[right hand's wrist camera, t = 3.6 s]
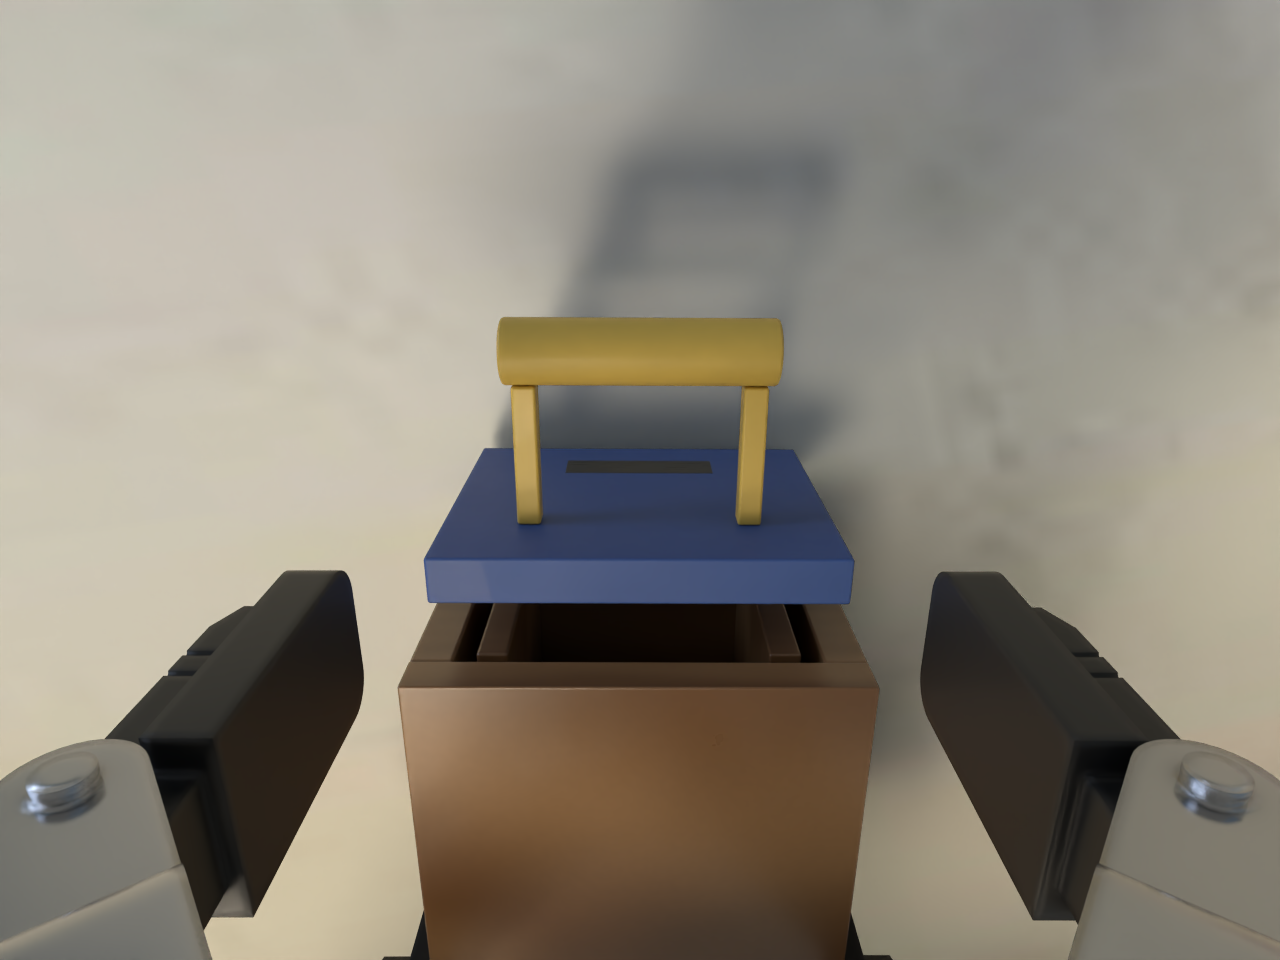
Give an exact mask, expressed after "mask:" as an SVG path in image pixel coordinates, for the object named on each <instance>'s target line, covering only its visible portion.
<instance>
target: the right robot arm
mask: <svg viewBox="0 0 1280 960" xmlns="http://www.w3.org/2000/svg"><path fill="white" fill-rule="evenodd" d="M920 683H921V695H922V701H923V706H924V709H925V712H926V715H927V717H928V720H929V722H930V723H931V725H932V727H933V729H934V731H935V733H936V735H937V737H938V739H939V741H940V743H941V745H942V747H943V748H944V750H945V752H946V754H947V756H948V758H949V760H950V762H951V764H952V766H953V768H954V770H955V771H956V773H957V775H958V777H959V779H960V781H961V783H962V785H963V787H964V789H965V791H966V793H967V795H968V796H969V798H970V800H971V802H972V804H973V806H974V808H975V810H976V812H977V814H978V816H979V818H980V819H981V821H982V823H983V825H984V827H985V829H986V831H987V833H988V835H989V837H990V839H991V841H992V843H993V844H994V846H995V848H996V850H997V852H998V854H999V856H1000V858H1001V860H1002V862H1003V864H1004V866H1005V867H1006V869H1007V871H1008V873H1009V875H1010V877H1011V879H1012V881H1013V883H1014V885H1015V887H1016V889H1017V891H1018V892H1019V894H1020V896H1021V898H1022V900H1023V902H1024V904H1025V906H1026V908H1027V910H1028V912H1029V914H1030V915H1031V917H1032V919H1033V920H1076V922H1077V924H1078V927H1077V931H1076V934H1075V937H1074V941H1073V944H1072V947H1071V951H1070V954H1069V957H1068V960H1280V781H1279V780H1278V779H1277V778H1276V777H1274V776H1273V775H1272V774H1270V773H1269V772H1267V771H1266V770H1264V769H1263V768H1261V767H1259V766H1258V765H1256V764H1254V763H1252V762H1250V761H1249V760H1247V759H1245V758H1242V757H1240V756H1238V755H1236V754H1234V753H1231V752H1229V751H1226V750H1223V749H1221V748H1218V747H1214V746H1211V745H1207V744H1204V743H1199V742H1194V741H1188V740H1181V739H1180V738H1179V737H1178V736H1177V735H1176V734H1175V733H1174V732H1173V731H1172V730H1171V729H1170V728H1169V726H1168V725H1167V724H1166V723H1165V722H1164V721H1163V720H1162V719H1161V718H1160V717H1159V716H1158V715H1157V714H1156V713H1155V712H1154V711H1153V709H1152V708H1151V707H1150V706H1149V705H1148V704H1147V703H1146V702H1145V701H1144V700H1143V699H1142V698H1141V697H1140V696H1139V695H1138V694H1137V692H1136V691H1135V690H1134V689H1133V688H1132V687H1131V686H1130V685H1129V684H1128V683H1127V682H1126V681H1125V680H1124V679H1123V678H1118V672H1117V671H1116V670H1115V669H1114V668H1113V667H1112V666H1111V665H1110V664H1109V663H1108V662H1107V661H1106V660H1105V659H1104V657H1099V652H1098V651H1097V650H1096V649H1095V648H1094V647H1093V646H1092V645H1091V644H1090V643H1089V642H1088V640H1087V639H1086V638H1085V637H1084V636H1083V635H1082V634H1081V633H1080V632H1079V631H1078V630H1077V629H1076V628H1075V627H1073V626H1071V625H1070V624H1068V623H1066V622H1064V621H1063V620H1061V619H1059V618H1058V617H1056V616H1054V615H1053V614H1051V613H1049V612H1047V611H1046V610H1044V609H1042V608H1031V607H1030V605H1029V604H1028V603H1027V602H1026V601H1025V600H1024V599H1023V598H1022V596H1021V595H1020V594H1019V593H1018V592H1017V591H1016V590H1015V588H1014V587H1013V586H1012V585H1011V584H1010V583H1009V582H1008V581H1007V579H1006V578H1005V577H1004V576H1003V575H1002V574H1001V573H999V572H941V573H939V574H938V576H937V577H936V579H935V582H934V585H933V590H932V596H931V603H930V610H929V617H928V624H927V631H926V638H925V645H924V652H923V659H922V666H921V677H920ZM363 686H364V671H363V662H362V655H361V648H360V641H359V634H358V627H357V620H356V613H355V606H354V599H353V592H352V586H351V582H350V579H349V577H348V575H347V574H346V573H345V572H344V571H286V572H284V573H283V574H282V575H281V576H280V577H279V578H278V579H277V580H276V581H275V583H274V584H273V585H272V586H271V587H270V588H269V589H268V591H267V592H266V593H265V594H264V595H263V596H262V597H261V599H260V600H259V601H258V602H257V603H256V604H255V605H254V606H244V607H242V608H240V609H239V610H237V611H235V612H234V613H232V614H230V615H228V616H227V617H225V618H223V619H222V620H220V621H218V622H217V623H215V624H213V625H211V626H210V627H209V628H208V629H207V630H206V631H205V632H204V633H203V634H202V635H201V636H200V637H199V638H198V639H197V641H196V642H195V643H194V644H193V645H192V646H191V647H190V648H189V649H188V650H187V655H186V656H182V657H181V658H180V659H179V660H178V661H177V662H176V663H175V664H174V665H173V666H172V667H171V668H170V669H169V671H168V676H163V677H162V678H161V679H160V680H159V681H158V682H157V683H156V684H155V685H154V687H153V688H152V689H151V690H150V691H149V692H148V693H147V694H146V695H145V696H144V697H143V698H142V699H141V700H140V702H139V703H138V704H137V705H136V706H135V707H134V708H133V709H132V710H131V711H130V712H129V713H128V714H127V715H126V717H125V718H124V719H123V720H122V721H121V722H120V723H119V724H118V725H117V726H116V727H115V728H114V729H113V730H112V732H111V733H110V734H109V735H108V736H107V737H106V738H105V739H100V740H92V741H86V742H81V743H76V744H73V745H69V746H66V747H62V748H59V749H57V750H54V751H51V752H49V753H46V754H44V755H42V756H40V757H38V758H35V759H33V760H31V761H30V762H28V763H26V764H24V765H22V766H21V767H19V768H17V769H16V770H14V771H13V772H11V773H10V774H8V775H7V776H6V777H4V778H3V779H2V780H1V781H0V960H212V957H211V954H210V951H209V947H208V944H207V941H206V937H205V934H204V929H205V927H206V926H207V924H208V922H209V920H210V919H211V917H254V915H255V913H256V911H257V909H258V907H259V905H260V903H261V901H262V899H263V897H264V896H265V894H266V892H267V890H268V888H269V886H270V884H271V882H272V880H273V878H274V876H275V874H276V872H277V870H278V868H279V866H280V864H281V862H282V861H283V859H284V857H285V855H286V853H287V851H288V849H289V847H290V845H291V843H292V841H293V839H294V837H295V835H296V833H297V831H298V829H299V828H300V826H301V824H302V822H303V820H304V818H305V816H306V814H307V812H308V810H309V808H310V806H311V804H312V802H313V800H314V798H315V796H316V794H317V793H318V791H319V789H320V787H321V785H322V783H323V781H324V779H325V777H326V775H327V773H328V771H329V769H330V767H331V765H332V763H333V761H334V759H335V758H336V756H337V754H338V752H339V750H340V748H341V746H342V744H343V742H344V740H345V738H346V736H347V734H348V732H349V730H350V728H351V726H352V724H353V723H354V721H355V719H356V717H357V714H358V712H359V709H360V705H361V701H362V695H363Z"/></svg>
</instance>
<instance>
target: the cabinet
mask: <svg viewBox="0 0 1280 960" xmlns="http://www.w3.org/2000/svg"><path fill="white" fill-rule="evenodd" d="M493 604H494V603H437V604H436V606H435V609H434V611H433V613H432V615H431V617H430V619H429V622H428V624H427V626H426V628H425V630H424V632H423V635H422V637H421V639H420V641H419V643H418V645H417V648H416V650H415V652H414V654H413V656H412V658H411V661H410V662H409V664H408V666H407V668H406V670H405V672H404V674H403V677H402V679H401V681H400V683H399V685H398V695H399V703H400V712H401V720H402V729H403V737H404V746H405V754H406V763H407V771H408V779H409V788H410V796H411V805H412V813H413V822H414V830H415V839H416V847H417V856H418V864H419V873H420V881H421V889H422V898H423V906H424V915H425V923H426V932H427V940H428V949H429V957H430V960H845V953H846V945H847V937H848V930H849V922H850V914H851V906H852V899H853V891H854V883H855V875H856V868H857V860H858V852H859V844H860V837H861V829H862V821H863V813H864V806H865V798H866V790H867V782H868V775H869V767H870V759H871V752H872V744H873V736H874V728H875V721H876V713H877V705H878V697H879V690H880V689H879V686H878V684H877V682H876V680H875V678H874V675H873V673H872V671H871V669H870V667H869V665H868V663H867V661H866V659H865V657H864V654H863V652H862V650H861V648H860V646H859V644H858V642H857V639H856V637H855V635H854V633H853V631H852V629H851V626H850V624H849V622H848V620H847V618H846V616H845V614H844V611H843V609H842V607H841V605H840V604H784V606H785V609H786V612H787V615H788V618H789V621H790V624H791V627H792V630H793V633H794V636H795V639H796V642H797V645H798V648H799V651H800V654H801V661H800V663H670V662H477V652H478V649H479V646H480V643H481V640H482V637H483V634H484V631H485V628H486V625H487V622H488V619H489V616H490V613H491V610H492V607H493Z"/></svg>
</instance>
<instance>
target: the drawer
mask: <svg viewBox="0 0 1280 960" xmlns="http://www.w3.org/2000/svg"><path fill="white" fill-rule="evenodd" d="M783 357H784V338H783V329H782V325H781V322H780V320H779V319H777V318H595V317H503V318H501V319H500V322H499V325H498V330H497V366H498V373H499V377H500V380H501V382H502V384H504V385H512V387H511V407H512V426H513V445H514V448H485V449H484V450H483V452H482V454H481V455H480V457H479V459H478V461H477V463H476V465H475V466H474V468H473V470H472V472H471V474H470V476H469V477H468V479H467V481H466V483H465V485H464V487H463V488H462V490H461V492H460V494H459V496H458V498H457V499H456V501H455V503H454V505H453V507H452V509H451V510H450V512H449V514H448V516H447V518H446V520H445V521H444V523H443V525H442V527H441V529H440V530H439V532H438V534H437V536H436V538H435V540H434V541H433V543H432V545H431V547H430V549H429V551H428V552H427V554H426V556H425V558H424V567H425V577H426V588H427V598H428V602H429V603H494V604H493V607H492V610H491V613H490V616H489V619H488V622H487V625H486V628H485V631H484V634H483V637H482V640H481V643H480V646H479V649H478V652H477V662H670V663H800V661H801V654H800V651H799V648H798V645H797V642H796V639H795V636H794V633H793V630H792V627H791V624H790V621H789V618H788V615H787V612H786V609H785V606H784V604H849V603H850V598H851V589H852V580H853V571H854V562H855V561H854V559H853V557H852V555H851V553H850V552H849V550H848V548H847V546H846V544H845V542H844V541H843V539H842V537H841V535H840V533H839V532H838V530H837V528H836V526H835V524H834V523H833V521H832V519H831V517H830V515H829V514H828V512H827V510H826V508H825V506H824V504H823V503H822V501H821V499H820V497H819V495H818V494H817V492H816V490H815V488H814V486H813V485H812V483H811V481H810V479H809V477H808V476H807V474H806V472H805V470H804V468H803V467H802V465H801V463H800V461H799V459H798V457H797V456H796V454H795V452H794V450H775V449H766V433H767V417H768V401H769V389H768V387H767V386H776V385H778V383H779V381H780V378H781V374H782V368H783ZM538 385H611V386H742V394H741V414H740V434H739V449H540V428H539V403H538Z"/></svg>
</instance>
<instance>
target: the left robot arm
mask: <svg viewBox="0 0 1280 960" xmlns="http://www.w3.org/2000/svg"><path fill="white" fill-rule="evenodd" d="M382 960H430V957H429V949H428V940H427V932H426V923H425V915H424V911H423V915H422V918H421V922H420V925H419V929H418V932H417V936H416V939H415V943H414V947H413V950H412V954H411V957H384V958H383V959H382ZM845 960H893V959H892V958H891V957H890V956H889V955H863V953H862V949H861V946H860V942H859V939H858V936H857V932H856V929H855V925H854V922H853V918H852V915H851V914H850V922H849V930H848V937H847V945H846V953H845Z"/></svg>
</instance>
